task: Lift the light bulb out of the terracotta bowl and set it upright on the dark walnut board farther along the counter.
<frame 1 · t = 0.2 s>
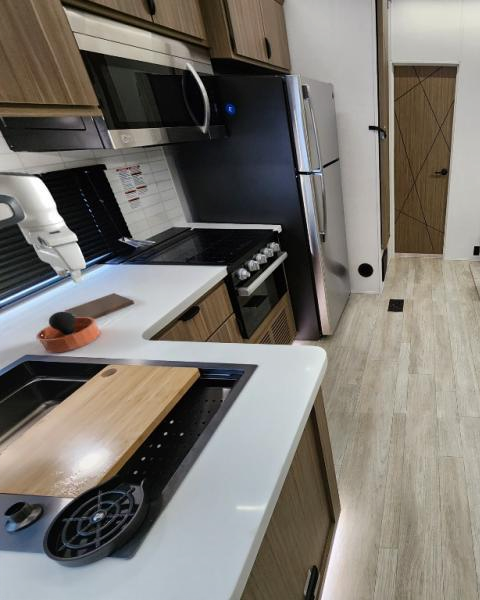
hand: (71, 279, 98), 21 cm above the worktop, tool pointing down, fingers open, 8 cm apart
light bulb: (73, 340, 106), resting on bowl
bowl: (73, 340, 106), on the worktop
board: (101, 308, 125), on the worktop
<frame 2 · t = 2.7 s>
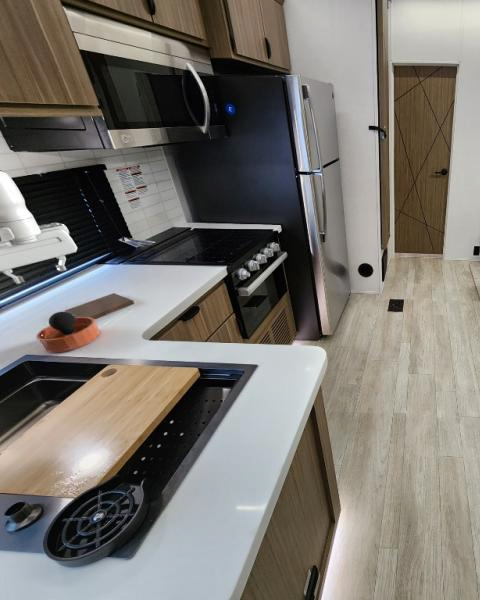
hand: (42, 276, 96), 23 cm above the worktop, tool pointing down, fingers open, 8 cm apart
nothing on the worktop moved.
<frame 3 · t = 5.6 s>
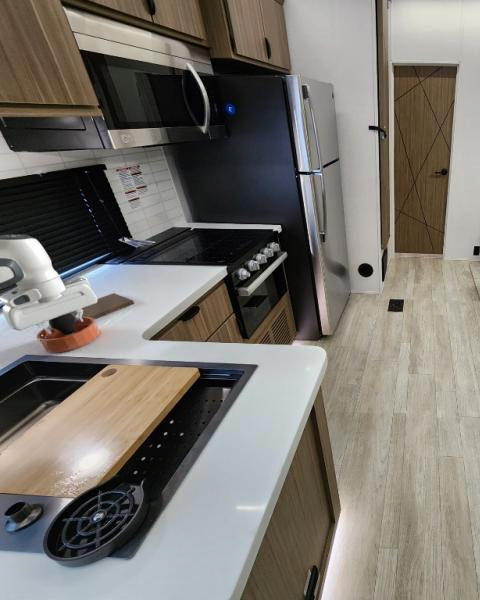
hand: (66, 327, 104), 5 cm above the worktop, tool pointing down, fingers closed on light bulb, 6 cm apart
light bulb: (73, 340, 106), resting on bowl, touching gripper
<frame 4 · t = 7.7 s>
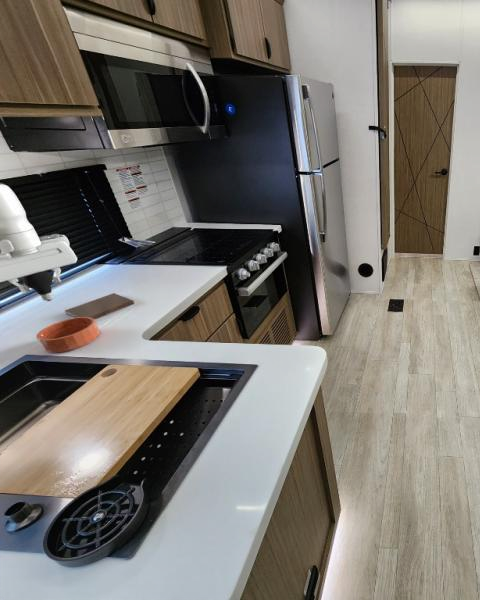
hand: (41, 286, 97), 19 cm above the worktop, tool pointing down, fingers closed on light bulb, 6 cm apart
light bulb: (50, 301, 99), point 15 cm above the worktop, touching gripper
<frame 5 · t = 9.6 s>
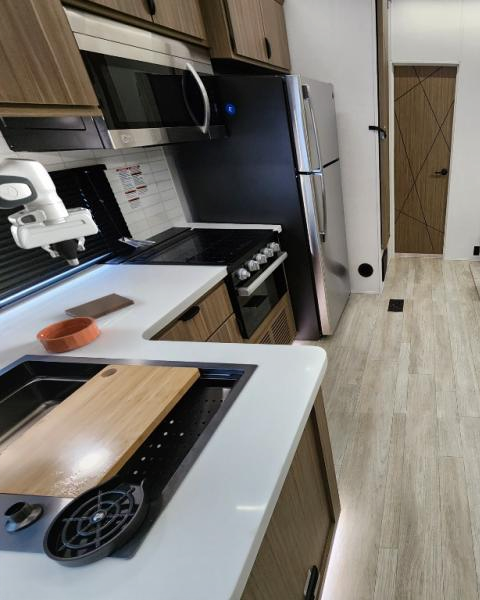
hand: (69, 253, 112), 23 cm above the worktop, tool pointing down, fingers closed on light bulb, 6 cm apart
light bulb: (75, 266, 114), point 18 cm above the worktop, touching gripper
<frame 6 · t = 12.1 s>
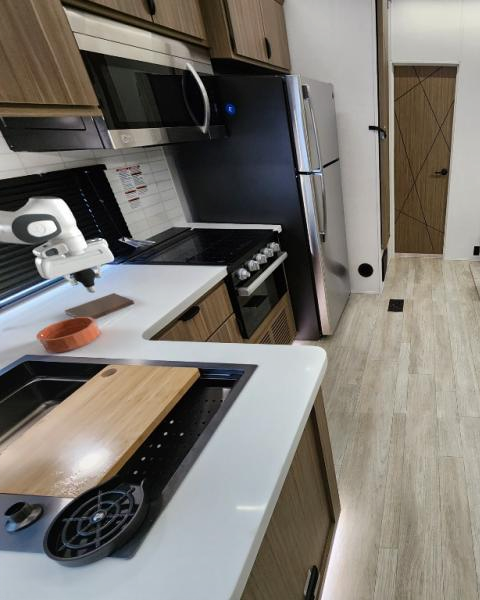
hand: (87, 281, 120), 12 cm above the worktop, tool pointing down, fingers closed on light bulb, 6 cm apart
light bulb: (93, 292, 122), point 7 cm above the worktop, touching gripper
when the fingers open (6 cm above the worktop, at t = 14.0 s): light bulb stays where it is, resting on board.
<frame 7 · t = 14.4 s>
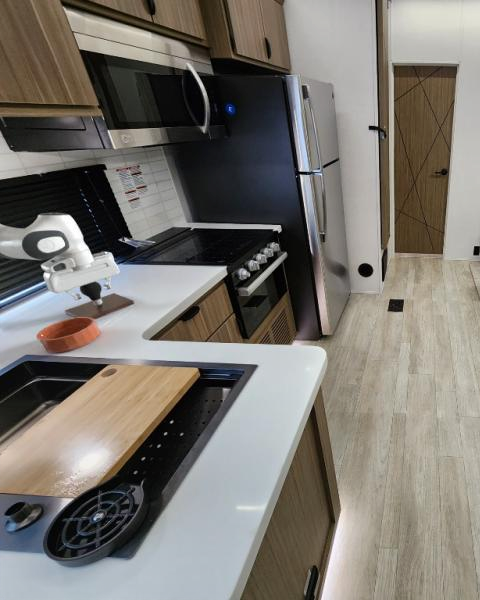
hand: (93, 293, 122), 6 cm above the worktop, tool pointing down, fingers open, 8 cm apart
light bulb: (99, 305, 124), point 1 cm above the worktop, touching board
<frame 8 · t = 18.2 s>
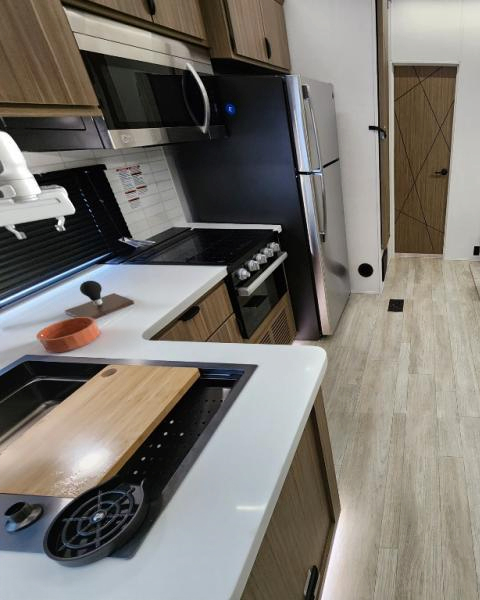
hand: (42, 234, 104), 31 cm above the worktop, tool pointing down, fingers open, 8 cm apart
nothing on the worktop moved.
at the end: light bulb inside the target area on the board (0.1 cm from its centre), point 1.3 cm above the board's base; light bulb tilted 0°; the gripper is holding nothing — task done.
